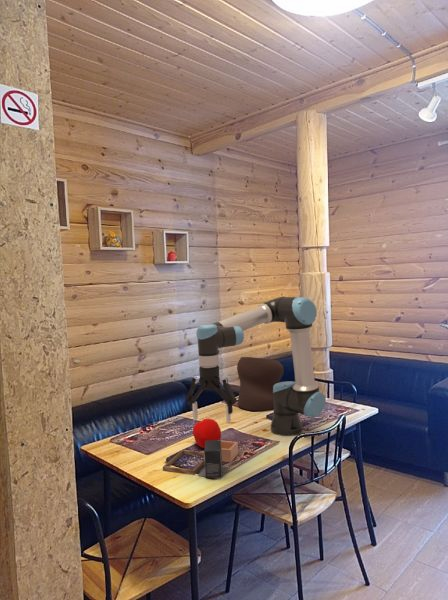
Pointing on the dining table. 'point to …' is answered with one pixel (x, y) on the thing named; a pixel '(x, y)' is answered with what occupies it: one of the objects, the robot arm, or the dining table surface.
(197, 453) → the tray
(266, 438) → the dining table surface
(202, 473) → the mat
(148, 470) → the dining table surface
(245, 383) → the vase
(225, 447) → the terracotta pot
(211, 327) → the robot arm
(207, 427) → the red round ball
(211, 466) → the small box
